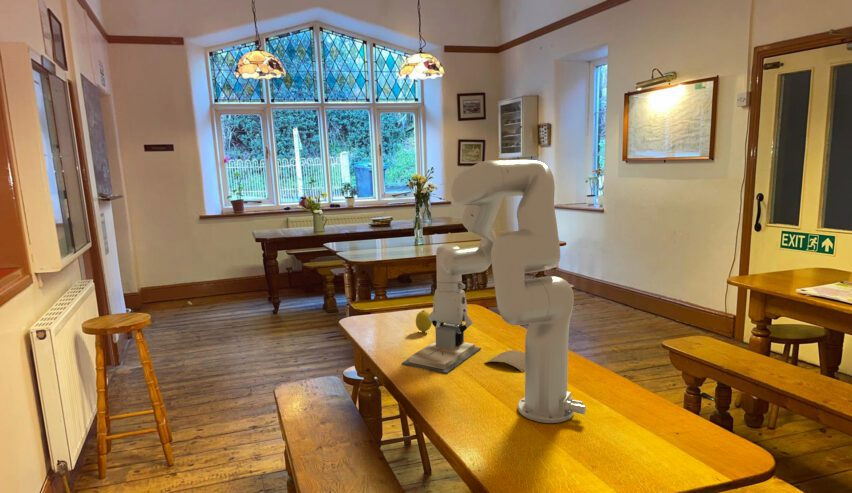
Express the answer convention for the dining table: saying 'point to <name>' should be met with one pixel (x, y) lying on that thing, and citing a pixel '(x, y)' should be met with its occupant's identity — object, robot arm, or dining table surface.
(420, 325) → the lemon
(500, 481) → the dining table surface
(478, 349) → the board
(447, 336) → the block
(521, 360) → the clay tablet
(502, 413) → the dining table surface
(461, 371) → the dining table surface
